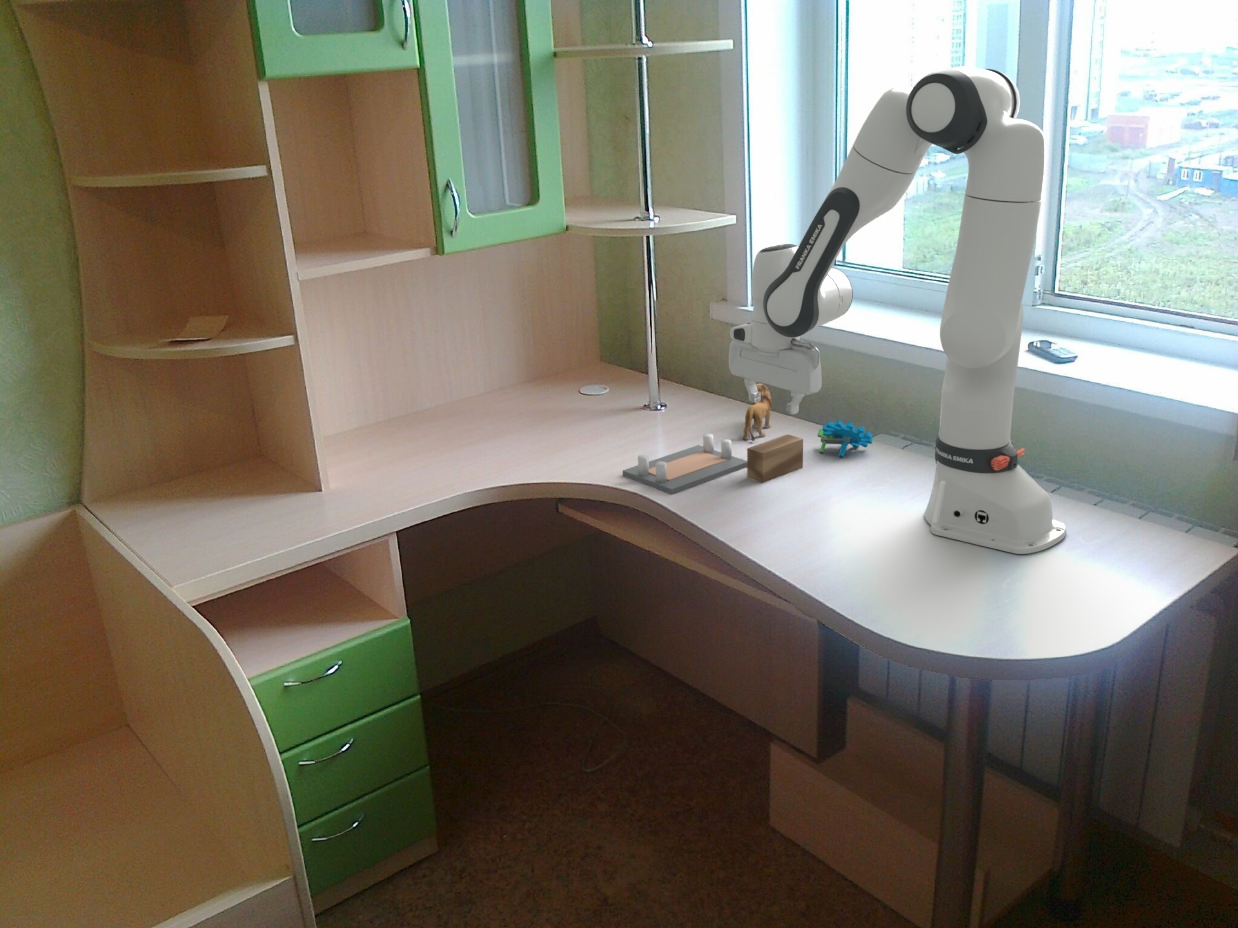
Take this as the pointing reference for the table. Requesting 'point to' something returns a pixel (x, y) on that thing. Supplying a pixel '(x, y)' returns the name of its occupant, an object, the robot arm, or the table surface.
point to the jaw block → (774, 458)
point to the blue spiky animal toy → (843, 436)
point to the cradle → (686, 466)
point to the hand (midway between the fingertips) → (773, 407)
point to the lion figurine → (758, 412)
